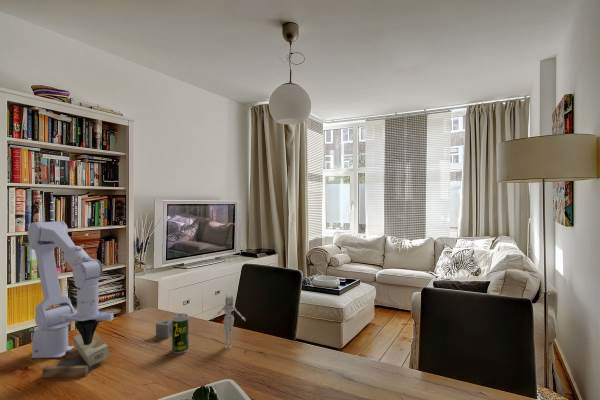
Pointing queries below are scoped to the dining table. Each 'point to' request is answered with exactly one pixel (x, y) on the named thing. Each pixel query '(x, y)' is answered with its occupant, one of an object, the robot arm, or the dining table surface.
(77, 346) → the skincare box
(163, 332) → the dice cube
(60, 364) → the u rest
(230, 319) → the human figurine
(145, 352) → the dining table surface
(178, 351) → the beer can
